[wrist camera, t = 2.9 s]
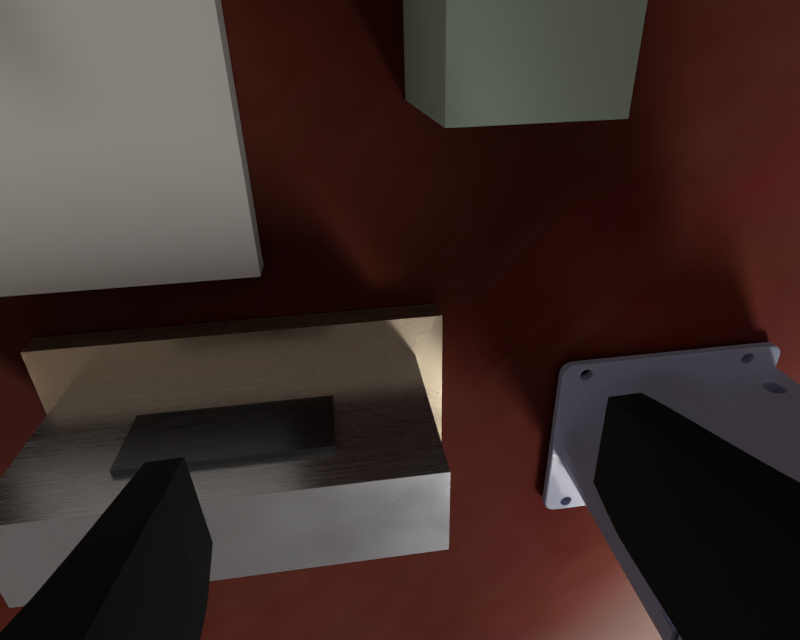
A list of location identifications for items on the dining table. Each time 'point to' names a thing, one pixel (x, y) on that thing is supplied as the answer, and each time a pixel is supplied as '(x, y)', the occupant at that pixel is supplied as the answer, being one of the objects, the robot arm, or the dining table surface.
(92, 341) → the grey unit
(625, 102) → the sage block
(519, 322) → the dining table surface
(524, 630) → the dining table surface
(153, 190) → the pad
